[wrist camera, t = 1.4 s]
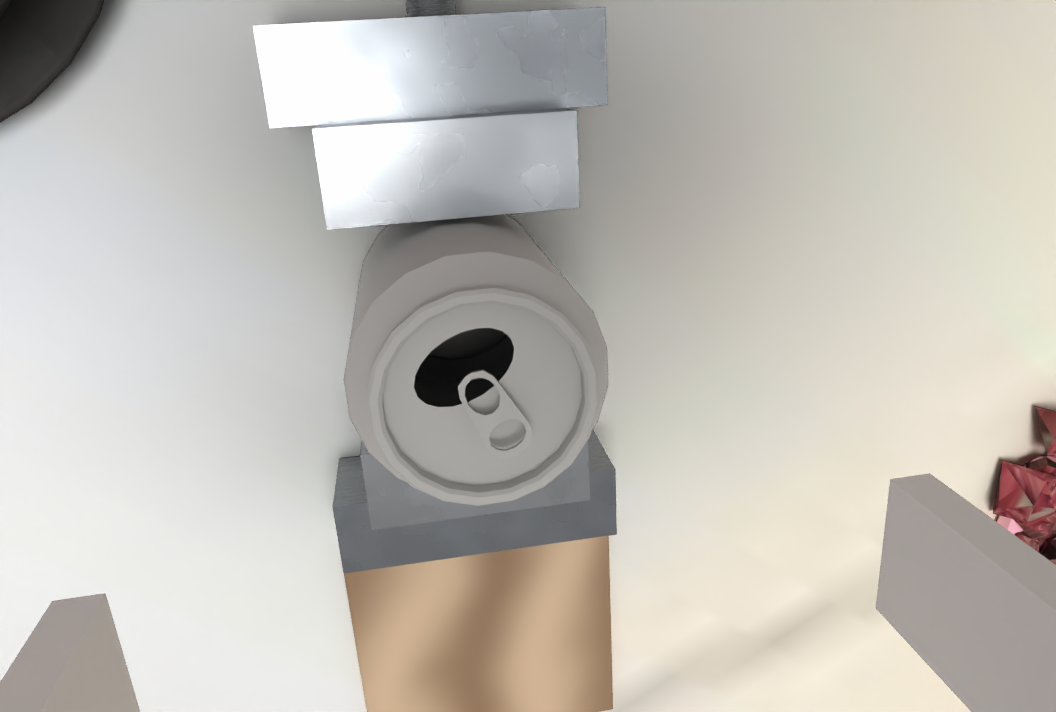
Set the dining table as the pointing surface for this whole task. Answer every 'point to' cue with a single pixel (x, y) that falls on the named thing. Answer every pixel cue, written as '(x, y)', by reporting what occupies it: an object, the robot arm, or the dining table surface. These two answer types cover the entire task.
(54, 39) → the casserole
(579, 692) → the mat
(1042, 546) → the candy landscape model
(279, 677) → the dining table surface
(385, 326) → the can
